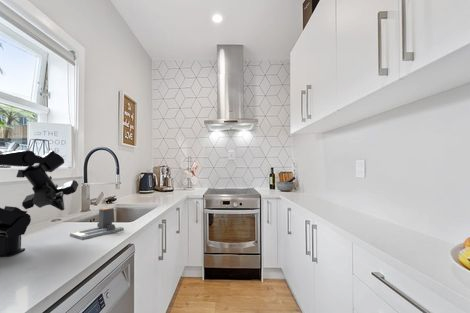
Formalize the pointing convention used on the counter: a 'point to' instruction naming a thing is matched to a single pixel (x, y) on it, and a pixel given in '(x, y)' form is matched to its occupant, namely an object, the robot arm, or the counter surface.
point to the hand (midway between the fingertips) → (63, 209)
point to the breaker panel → (96, 231)
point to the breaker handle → (105, 217)
